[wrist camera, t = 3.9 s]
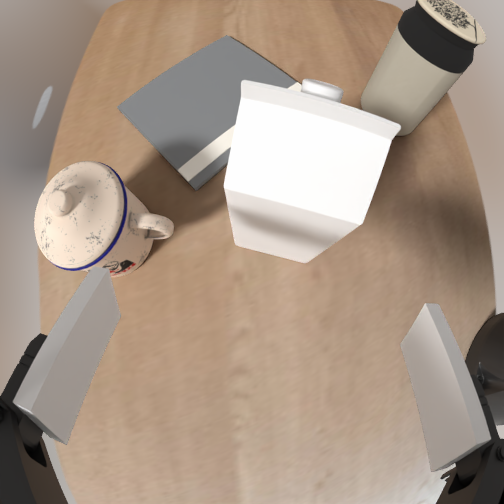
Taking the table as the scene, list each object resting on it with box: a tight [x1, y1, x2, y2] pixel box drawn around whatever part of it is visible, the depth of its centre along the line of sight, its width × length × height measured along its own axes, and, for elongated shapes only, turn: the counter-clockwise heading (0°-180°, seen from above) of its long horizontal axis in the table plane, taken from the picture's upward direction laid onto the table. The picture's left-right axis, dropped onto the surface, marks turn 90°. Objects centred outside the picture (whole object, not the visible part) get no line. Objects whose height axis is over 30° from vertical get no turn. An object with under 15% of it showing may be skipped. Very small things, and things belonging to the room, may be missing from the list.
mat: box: [117, 35, 302, 191], centre depth 32 cm, size 18×16×1 cm
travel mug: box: [361, 0, 486, 136], centre depth 24 cm, size 8×8×18 cm
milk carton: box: [224, 79, 401, 263], centre depth 21 cm, size 7×7×19 cm
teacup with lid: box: [35, 161, 174, 277], centre depth 24 cm, size 12×9×12 cm
